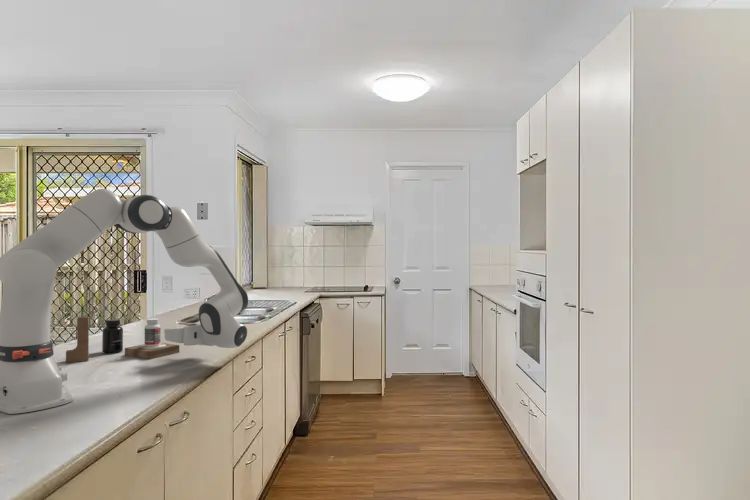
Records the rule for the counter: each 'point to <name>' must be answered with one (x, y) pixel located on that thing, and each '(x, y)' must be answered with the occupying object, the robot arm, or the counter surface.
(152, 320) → the pill bottle
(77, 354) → the wooden block
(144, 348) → the walnut base
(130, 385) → the counter surface
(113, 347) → the supplement bottle
